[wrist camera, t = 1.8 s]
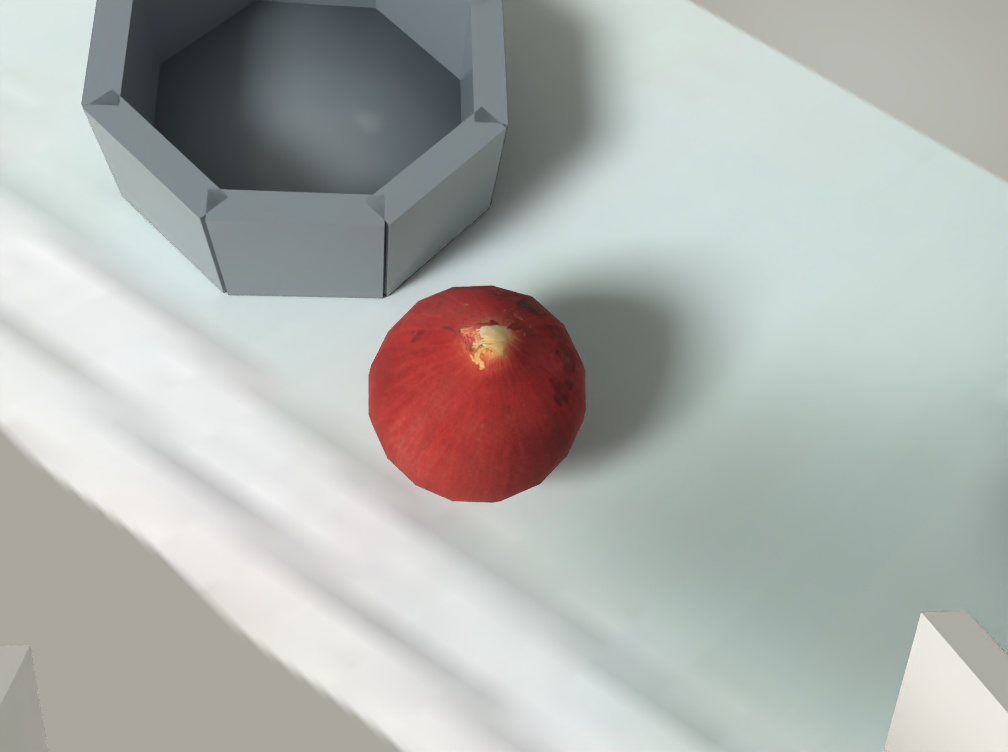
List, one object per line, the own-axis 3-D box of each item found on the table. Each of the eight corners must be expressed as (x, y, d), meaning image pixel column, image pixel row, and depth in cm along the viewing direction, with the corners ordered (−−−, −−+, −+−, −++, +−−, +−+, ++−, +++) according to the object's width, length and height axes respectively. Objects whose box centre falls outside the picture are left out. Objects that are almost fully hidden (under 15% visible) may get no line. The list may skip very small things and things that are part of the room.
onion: (462, 314, 31) (491, 175, 23) (595, 434, 30) (670, 329, 22) (329, 436, 29) (315, 326, 21) (468, 570, 28) (504, 503, 20)
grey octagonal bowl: (558, 148, 34) (584, 62, 29) (303, 369, 29) (291, 305, 25) (320, -54, 35) (313, -161, 31) (49, 126, 31) (-1, 29, 27)
